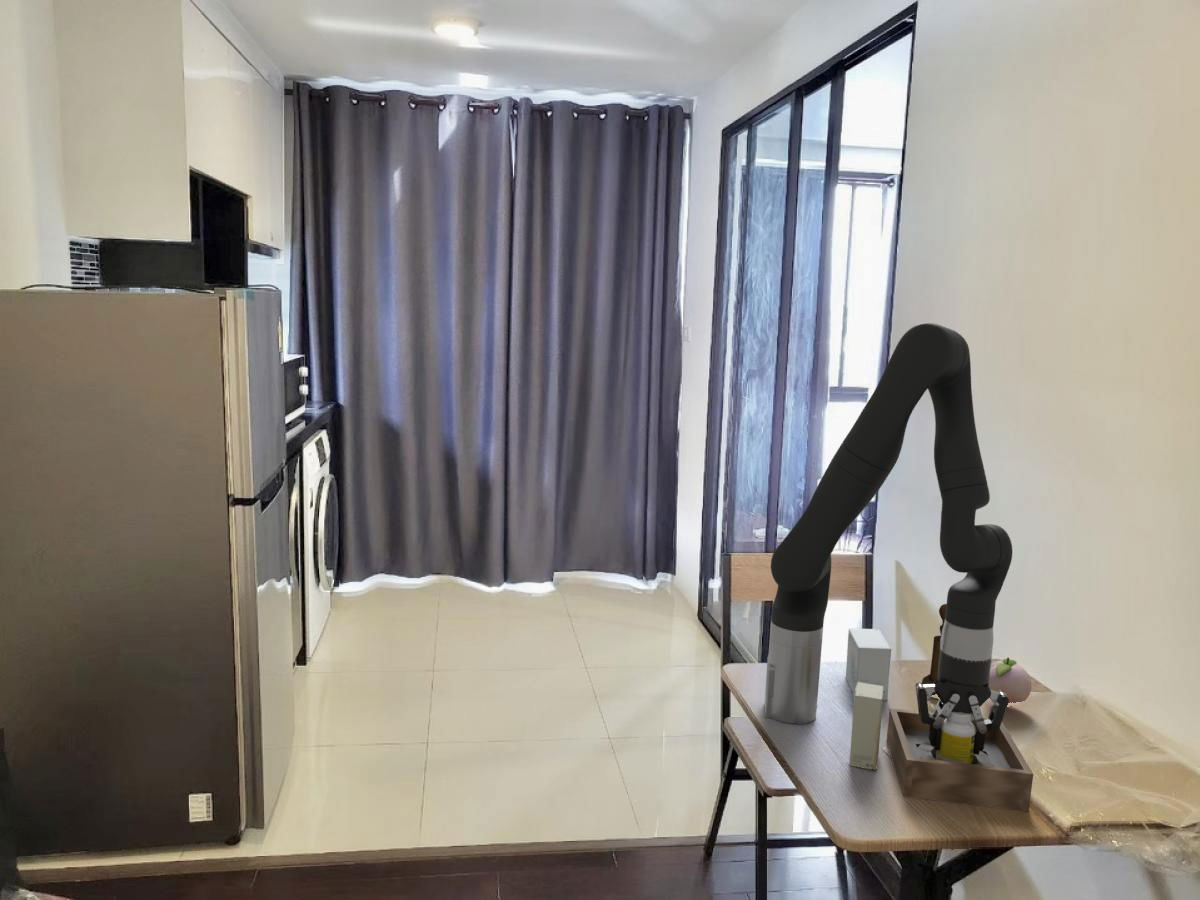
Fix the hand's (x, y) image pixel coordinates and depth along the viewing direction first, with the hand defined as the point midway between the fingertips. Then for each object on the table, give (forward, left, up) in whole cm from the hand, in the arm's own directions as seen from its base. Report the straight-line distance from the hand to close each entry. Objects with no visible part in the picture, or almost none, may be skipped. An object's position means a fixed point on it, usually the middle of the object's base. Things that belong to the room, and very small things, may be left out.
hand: (955, 749), depth 143 cm
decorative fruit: (+15, +28, -4) cm, 32 cm away
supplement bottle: (0, 0, -3) cm, 3 cm away
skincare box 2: (-14, +1, -4) cm, 14 cm away
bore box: (0, 0, -4) cm, 4 cm away
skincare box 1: (-10, +31, -4) cm, 33 cm away
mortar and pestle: (+4, +32, -4) cm, 32 cm away
